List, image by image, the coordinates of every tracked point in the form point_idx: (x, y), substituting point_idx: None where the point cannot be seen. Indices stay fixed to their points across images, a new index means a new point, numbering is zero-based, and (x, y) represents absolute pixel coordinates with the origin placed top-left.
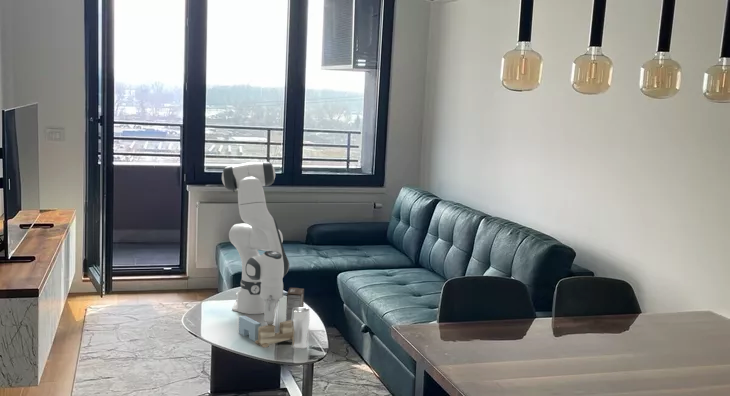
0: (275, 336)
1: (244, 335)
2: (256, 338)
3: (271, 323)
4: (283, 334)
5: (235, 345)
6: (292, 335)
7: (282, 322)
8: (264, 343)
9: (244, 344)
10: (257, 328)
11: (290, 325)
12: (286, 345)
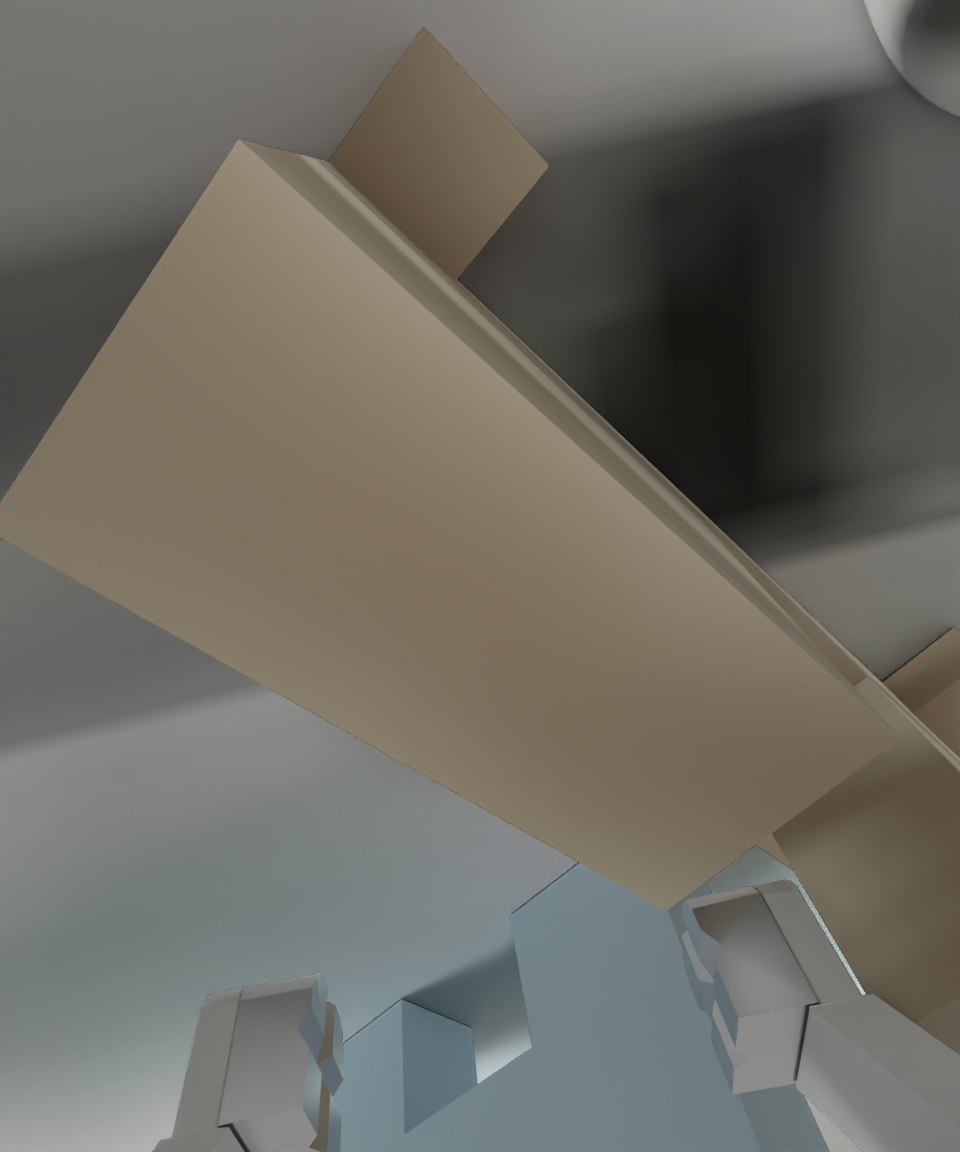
0: (839, 651)
1: (464, 1029)
2: (698, 893)
3: (954, 1071)
4: (685, 505)
5: (860, 985)
6: (416, 242)
7: (646, 828)
8: (944, 727)
9: (825, 926)
10: (774, 1088)
11: (552, 410)
12: (915, 290)
